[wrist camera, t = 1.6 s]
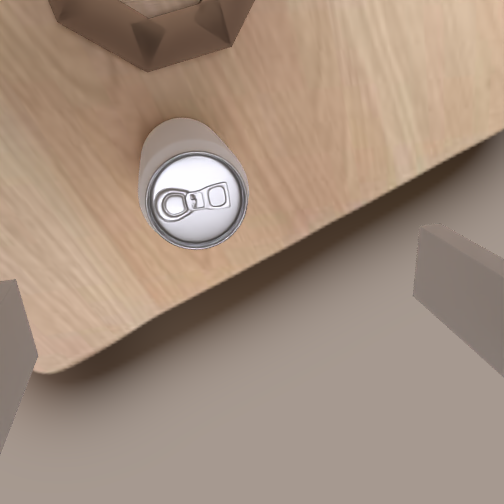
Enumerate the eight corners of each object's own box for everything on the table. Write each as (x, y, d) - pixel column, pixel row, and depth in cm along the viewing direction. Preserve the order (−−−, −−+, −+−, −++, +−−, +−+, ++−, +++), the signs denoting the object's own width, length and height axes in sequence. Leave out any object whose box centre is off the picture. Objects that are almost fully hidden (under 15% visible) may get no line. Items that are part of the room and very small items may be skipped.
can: (131, 124, 34) (122, 155, 23) (216, 109, 35) (246, 132, 24) (151, 206, 37) (152, 267, 26) (230, 190, 37) (262, 243, 27)
